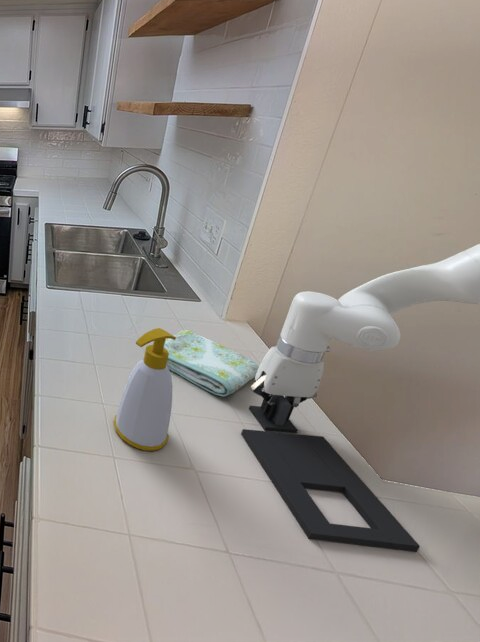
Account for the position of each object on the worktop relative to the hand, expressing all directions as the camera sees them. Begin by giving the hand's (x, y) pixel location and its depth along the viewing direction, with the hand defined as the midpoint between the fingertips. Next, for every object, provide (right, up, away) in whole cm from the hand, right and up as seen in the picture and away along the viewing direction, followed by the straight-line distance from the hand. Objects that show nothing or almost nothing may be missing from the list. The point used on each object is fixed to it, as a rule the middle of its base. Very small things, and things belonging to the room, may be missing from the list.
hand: (273, 414), depth 87 cm
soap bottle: (-32, -3, -2) cm, 32 cm away
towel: (-6, +5, +18) cm, 20 cm away
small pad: (0, -2, +1) cm, 2 cm away
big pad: (-3, -8, -14) cm, 16 cm away
